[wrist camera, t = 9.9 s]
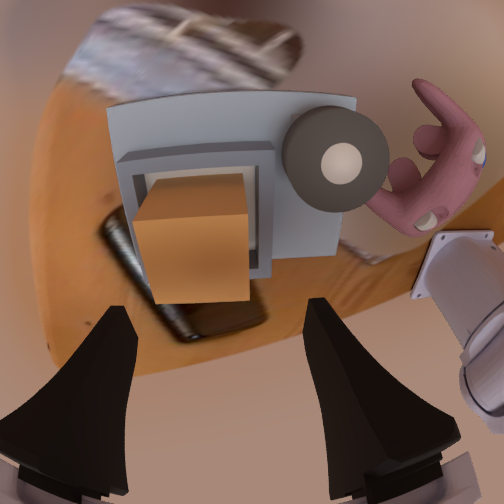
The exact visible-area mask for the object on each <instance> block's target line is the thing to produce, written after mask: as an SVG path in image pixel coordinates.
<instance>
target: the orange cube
mask: <svg viewBox="0 0 504 504" xmlns="http://www.w3.org/2000/svg"><path fill="white" fill-rule="evenodd" d="M132 222H133V227H134V231H135V235H136V238H137V242H138V246H139V250H140V253H141V257H142V260H143V264H144V267H145V271H146V274H147V278H148V281H149V284H150V287H151V291H152V294H153V297H154V300H155V303H156V304H176V303H206V302H229V301H247V300H250V287H249V236H248V210H247V202H246V195H245V188H244V180H243V173H233V174H215V175H199V176H186V177H175V178H164V179H156V181H155V183H154V184H153V186H152V188H151V189H150V191H149V193H148V195H147V196H146V198H145V200H144V201H143V203H142V205H141V207H140V209H139V210H138V212H137V214H136V216H135V218H134V219H133V221H132Z"/></svg>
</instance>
